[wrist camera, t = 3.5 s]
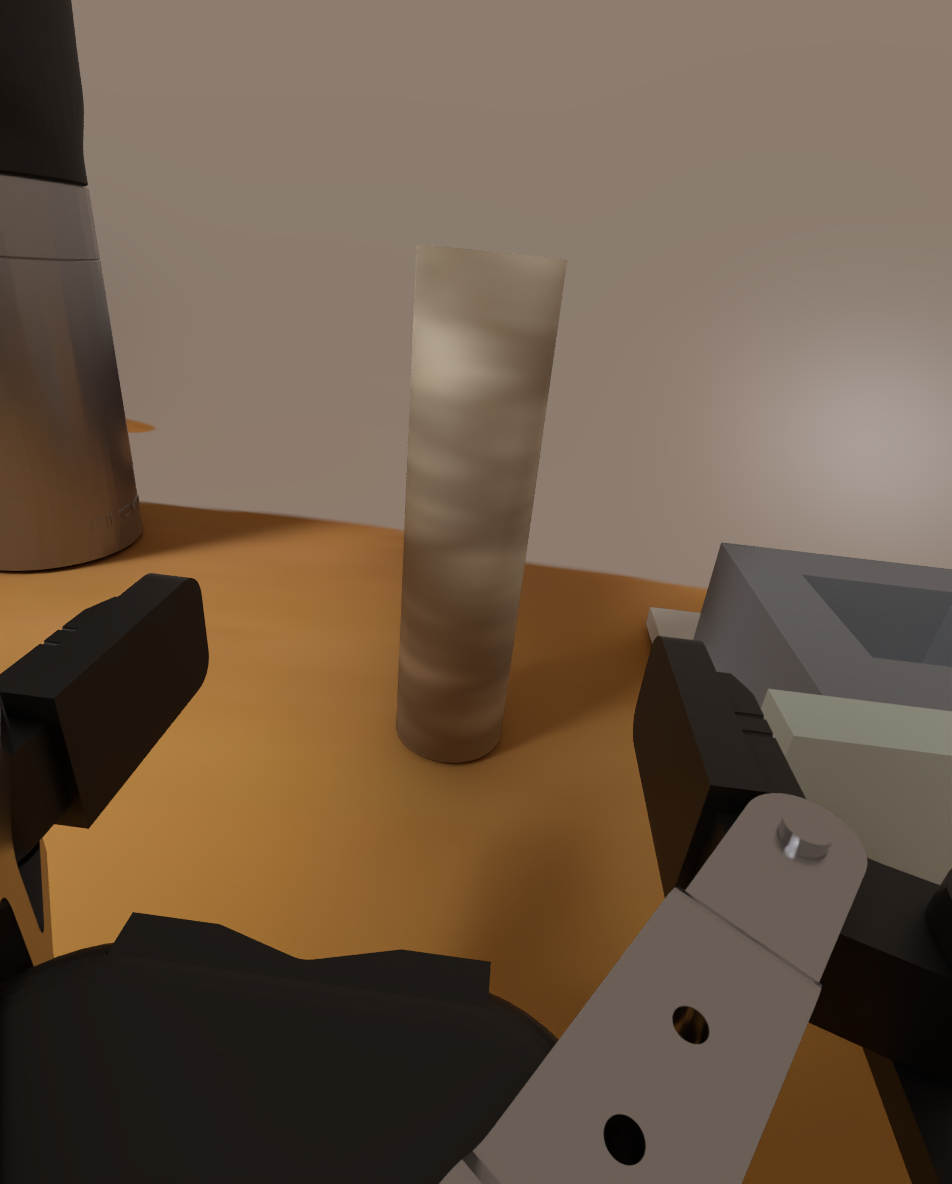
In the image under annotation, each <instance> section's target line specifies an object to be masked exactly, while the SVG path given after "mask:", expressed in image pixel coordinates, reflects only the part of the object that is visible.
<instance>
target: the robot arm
mask: <svg viewBox="0 0 952 1184" xmlns="http://www.w3.org/2000/svg"><path fill="white" fill-rule="evenodd" d="M83 105H84V104H83V93H82V85H81V77H80V70H79V62H78V55H77V48H76V39H75V30H74V21H73V12H72V4H71V0H0V570H10V571H23V570H42V569H50V568H58V567H65V566H70V565H75V564H80V563H85V562H88V561H92V560H95V559H99V558H102V557H105V556H108V555H110V554H113V553H115V552H118V551H120V550H122V549H123V548H125V547H127V546H129V545H131V544H132V543H133V542H134V541H135V540H137V539H138V538H139V536H140V534H141V533H142V521H141V514H140V508H139V497H138V495H137V489H136V483H135V477H134V471H133V462H132V456H131V450H130V444H129V437H128V431H127V425H126V418H125V412H124V406H123V400H122V393H121V387H120V381H119V375H118V368H117V363H116V356H115V350H114V344H113V337H112V331H111V325H110V318H109V313H108V306H107V300H106V294H105V288H104V281H103V275H102V268H101V262H100V260H99V258H100V257H99V251H98V245H97V238H96V233H95V226H94V220H93V214H92V208H91V201H90V195H89V190H88V189H87V188H85V187H83V186H87V185H88V182H87V176H86V171H85V164H84V156H83V127H84V125H83V124H84V106H83ZM208 663H209V651H208V643H207V635H206V627H205V619H204V610H203V602H202V594H201V589H200V586H199V584H198V582H197V581H196V580H195V579H193V578H186V577H178V576H170V575H161V574H153V573H150V574H147V575H145V576H144V577H142V578H141V579H140V580H138V581H137V582H136V583H135V584H133V585H132V586H131V587H130V588H128V589H127V590H126V591H125V592H123V593H122V594H121V595H120V596H118V597H113V598H111V599H108V600H106V601H104V602H101V603H99V604H97V605H94V606H92V607H90V608H87V609H85V610H83V611H82V612H81V613H79V614H78V615H77V616H76V617H74V618H73V619H72V620H70V621H69V622H68V623H66V624H65V625H64V626H63V628H62V630H57V631H56V632H55V633H53V634H52V635H51V636H49V637H48V638H47V639H46V640H44V644H39V645H38V646H36V647H35V648H34V649H33V650H31V651H30V652H29V653H27V654H26V655H25V656H23V657H22V658H21V659H19V660H18V661H17V662H16V663H14V664H13V665H12V666H10V667H9V668H8V669H6V670H5V671H4V672H2V673H1V674H0V1184H742V1182H743V1179H744V1177H745V1174H746V1172H747V1169H748V1167H749V1165H750V1162H751V1160H752V1157H753V1155H754V1152H755V1150H756V1148H757V1145H758V1143H759V1140H760V1138H761V1136H762V1133H763V1131H764V1128H765V1126H766V1123H767V1121H768V1119H769V1116H770V1114H771V1111H772V1109H773V1106H774V1104H775V1102H776V1099H777V1097H778V1094H779V1092H780V1089H781V1087H782V1085H783V1082H784V1080H785V1077H786V1075H787V1073H788V1070H789V1068H790V1065H791V1063H792V1060H793V1058H794V1056H795V1053H796V1051H797V1048H798V1046H799V1043H800V1041H801V1039H802V1036H803V1034H804V1031H805V1029H806V1027H807V1024H808V1022H809V1023H811V1024H813V1025H816V1026H818V1027H820V1028H822V1029H824V1030H826V1031H829V1032H831V1033H833V1034H835V1035H837V1036H840V1037H842V1038H844V1039H846V1040H848V1041H851V1042H853V1043H855V1044H857V1045H859V1046H861V1047H863V1050H864V1053H865V1055H866V1058H867V1061H868V1064H869V1066H870V1069H871V1072H872V1075H873V1077H874V1080H875V1083H876V1086H877V1089H878V1091H879V1094H880V1097H881V1100H882V1102H883V1105H884V1108H885V1111H886V1113H887V1116H888V1119H889V1122H890V1124H891V1127H892V1130H893V1133H894V1135H895V1138H896V1141H897V1144H898V1147H899V1149H900V1152H901V1155H902V1158H903V1160H904V1163H905V1166H906V1169H907V1171H908V1174H909V1177H910V1180H911V1182H912V1184H952V868H951V870H950V871H949V872H948V874H947V875H946V877H945V878H944V880H943V881H942V883H941V885H938V884H936V883H933V882H930V881H927V880H925V879H922V878H919V877H917V876H914V875H911V874H908V873H906V872H903V871H900V870H897V869H895V868H892V867H889V866H887V865H884V864H881V863H879V862H877V861H874V860H872V859H870V858H868V857H867V855H866V852H865V849H864V847H863V845H862V843H861V841H860V840H859V838H858V837H857V835H856V834H855V833H854V832H853V831H852V829H851V828H850V827H849V826H848V825H847V824H846V823H844V822H843V821H842V820H841V819H840V818H839V817H837V816H836V815H834V814H833V813H832V812H830V811H829V810H827V809H825V808H824V807H822V806H820V805H818V804H816V803H814V802H812V801H809V800H806V798H805V796H804V794H803V792H802V790H801V788H800V786H799V784H798V782H797V780H796V778H795V776H794V774H793V772H792V770H791V768H790V766H789V764H788V762H787V760H786V758H785V756H784V754H783V752H782V750H781V748H780V746H779V744H778V742H777V740H776V738H773V732H772V730H771V728H770V726H769V724H768V722H767V720H765V719H764V714H763V712H762V710H761V708H760V706H759V704H758V702H757V700H756V698H755V696H754V694H753V693H752V692H751V691H750V690H749V689H748V688H746V687H745V686H744V685H743V684H742V683H741V682H740V681H739V680H738V679H737V678H736V677H735V676H733V675H732V674H731V673H723V672H716V669H715V667H714V665H713V662H712V660H711V658H710V656H709V653H708V651H707V649H706V647H705V645H704V643H703V642H702V641H698V640H689V639H681V638H673V637H665V636H657V637H656V638H655V639H654V641H653V644H652V647H651V650H650V654H649V658H648V662H647V666H646V670H645V674H644V677H643V681H642V685H641V689H640V693H639V697H638V701H637V705H636V709H635V714H634V722H633V742H634V748H635V753H636V758H637V763H638V768H639V773H640V778H641V782H642V787H643V792H644V797H645V802H646V807H647V812H648V817H649V822H650V827H651V832H652V837H653V842H654V847H655V852H656V857H657V862H658V866H659V871H660V876H661V881H662V886H663V891H664V896H665V899H664V900H663V902H662V903H661V904H660V906H659V907H658V908H657V910H656V911H655V912H654V914H653V915H652V916H651V918H650V919H649V920H648V922H647V923H646V924H645V926H644V927H643V928H642V930H641V931H640V932H639V934H638V935H637V936H636V938H635V939H634V940H633V942H632V943H631V944H630V946H629V947H628V948H627V950H626V951H625V952H624V954H623V955H622V956H621V958H620V959H619V960H618V962H617V963H616V964H615V966H614V967H613V968H612V970H611V971H610V972H609V974H608V975H607V976H606V978H605V979H604V980H603V982H602V983H601V984H600V986H599V987H598V988H597V990H596V991H595V992H594V994H593V995H592V996H591V998H590V999H589V1000H588V1002H587V1003H586V1004H585V1006H584V1007H583V1008H582V1010H581V1011H580V1012H579V1014H578V1015H577V1016H576V1018H575V1019H574V1020H573V1022H572V1023H571V1024H570V1026H569V1027H568V1028H567V1030H566V1031H565V1032H564V1034H563V1035H562V1036H561V1038H560V1039H559V1040H558V1039H557V1038H556V1037H555V1036H554V1035H553V1034H552V1033H551V1032H550V1031H549V1030H548V1029H547V1028H546V1027H545V1026H543V1025H542V1024H541V1023H539V1022H538V1021H537V1020H535V1019H534V1018H533V1017H532V1016H530V1015H529V1014H528V1013H526V1012H525V1011H523V1010H521V1009H520V1008H518V1007H516V1006H515V1005H513V1004H511V1003H510V1002H508V1001H506V1000H504V999H502V998H500V997H498V996H495V995H493V994H491V993H489V981H490V966H491V962H487V961H480V960H473V959H466V958H459V957H451V956H444V955H437V954H430V953H423V952H415V951H408V950H394V951H385V952H376V953H367V954H358V955H349V956H341V957H332V958H323V959H314V960H303V959H298V958H295V957H292V956H290V955H288V954H286V953H283V952H281V951H279V950H277V949H274V948H272V947H270V946H267V945H265V944H263V943H261V942H258V941H256V940H254V939H252V938H249V937H247V936H245V935H243V934H240V933H238V932H236V931H234V930H231V929H229V928H227V927H225V926H222V925H220V924H214V923H207V922H199V921H192V920H185V919H178V918H171V917H163V916H156V915H149V914H142V913H135V912H133V913H132V915H131V916H130V918H129V919H128V921H127V923H126V924H125V926H124V927H123V929H122V931H121V932H120V934H119V935H118V937H117V939H116V940H115V942H114V943H108V944H103V945H98V946H93V947H89V948H84V949H80V950H77V951H74V952H71V953H68V954H65V955H62V956H58V957H56V958H54V955H53V944H52V928H51V912H50V897H49V881H48V865H47V852H46V847H45V844H44V841H43V838H42V837H43V836H44V835H45V834H46V833H47V832H48V830H49V829H50V828H51V827H52V826H53V825H54V824H58V825H65V826H72V827H80V828H87V829H89V828H90V826H91V825H92V824H93V823H94V821H95V820H96V819H97V818H98V816H99V815H100V814H101V812H102V811H103V810H104V809H105V807H106V806H107V805H108V804H109V802H110V801H111V800H112V799H113V797H114V796H115V795H116V794H117V792H118V791H119V790H120V789H121V787H122V786H123V785H124V783H125V782H126V781H127V780H128V778H129V777H130V776H131V775H132V773H133V772H134V771H135V770H136V768H137V767H138V766H139V765H140V763H141V762H142V761H143V759H144V758H145V757H146V756H147V754H148V753H149V752H150V751H151V749H152V748H153V747H154V746H155V744H156V743H157V742H158V741H159V739H160V738H161V737H162V735H163V734H164V733H165V732H166V730H167V729H168V728H169V727H170V725H171V724H172V723H173V722H174V720H175V719H176V718H177V717H178V715H179V714H180V713H181V711H182V710H183V709H184V708H185V706H186V705H187V704H188V703H189V701H190V700H191V699H192V698H193V696H194V695H195V694H196V693H197V691H198V690H199V689H200V687H201V686H202V684H203V682H204V679H205V676H206V673H207V669H208Z"/></svg>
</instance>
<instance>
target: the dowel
mask: <svg viewBox="0 0 952 1184" xmlns="http://www.w3.org/2000/svg"><path fill="white" fill-rule="evenodd" d="M566 264H567V260H563V259H556V258H548V257H539V256H530V255H521V254H511V253H502V252H492V251H482V250H472V249H463V248H452V247H442V246H431V245H417V249H416V273H415V296H414V319H413V342H412V343H413V344H412V367H411V389H410V413H409V436H408V437H409V438H408V461H407V462H408V463H407V483H406V508H405V530H404V553H403V577H402V600H401V624H400V647H399V671H398V694H397V718H396V730H397V734H398V736H399V738H400V740H401V741H402V743H403V744H404V745H405V746H406V747H407V748H408V749H410V750H411V751H412V752H414V753H415V754H417V755H419V756H421V757H424V758H427V759H430V760H433V761H438V762H445V763H459V762H467V761H471V760H475V759H478V758H480V757H482V756H484V755H486V754H487V753H489V752H490V751H491V750H493V748H494V747H495V746H496V745H497V743H498V742H499V739H500V736H501V730H502V723H503V716H504V709H505V702H506V694H507V687H508V680H509V673H510V666H511V658H512V651H513V644H514V637H515V630H516V623H517V615H518V608H519V601H520V594H521V587H522V580H523V572H524V565H525V557H526V551H527V543H528V537H529V529H530V522H531V515H532V507H533V501H534V494H535V486H536V479H537V471H538V465H539V458H540V450H541V443H542V435H543V428H544V421H545V414H546V407H547V400H548V393H549V386H550V379H551V371H552V364H553V357H554V350H555V343H556V336H557V328H558V321H559V313H560V307H561V300H562V292H563V285H564V278H565V271H566Z"/></svg>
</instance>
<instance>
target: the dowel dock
mask: <svg viewBox="0 0 952 1184" xmlns="http://www.w3.org/2000/svg"><path fill="white" fill-rule="evenodd" d="M646 625H647V629H648V632H649V635H650V639H651V642H652V644H653V641H654V639H655V638H656V637H657V636H665V637H673V638H681V639H689V640H698V641H702V642H703V643H704V645H705V647H706V649H707V651H708V653H709V656H710V658H711V660H712V662H713V665H714V667H715V669H716V672H723V673H731V674H732V675H733V676H735V677H736V678H737V679H738V680H739V681H740V682H741V683H742V684H743V685H744V686H745V687H746V688H748V689H749V690H750V691H751V692H752V693H753V694H754V696H755V698H756V700H757V702H758V704H759V706H760V708H761V710H762V712H763V714H764V719H765V720H767V722H768V724H769V726H770V728H771V730H772V732H773V738H776V740H777V742H778V744H779V746H780V748H781V750H782V752H783V754H784V756H785V758H786V760H787V762H788V764H789V766H790V768H791V770H792V772H793V774H794V776H795V778H796V780H797V782H798V784H799V786H800V788H801V790H802V792H803V794H804V796H805V798H806V800H809V801H812V802H814V803H816V804H818V805H820V806H822V807H824V808H825V809H827V810H829V811H830V812H832V813H833V814H834V815H836V816H837V817H839V818H840V819H841V820H842V821H843V822H844V823H846V824H847V825H848V826H849V827H850V828H851V829H852V831H853V832H854V833H855V834H856V835H857V837H858V838H859V840H860V841H861V843H862V845H863V847H864V849H865V852H866V855H867V857H868V858H870V859H872V860H874V861H877V862H879V863H881V864H884V865H887V866H889V867H892V868H895V869H897V870H900V871H903V872H906V873H908V874H911V875H914V876H917V877H919V878H922V879H925V880H927V881H930V882H933V883H936V884H938V885H941V883H942V881H943V880H944V878H945V877H946V875H947V874H948V872H949V871H950V870H951V868H952V569H944V568H934V567H927V566H917V565H909V564H901V563H892V562H884V561H875V560H866V559H858V558H849V557H841V556H832V555H823V554H815V553H806V552H798V551H789V550H781V549H772V548H763V547H755V546H746V545H738V544H729V543H721V546H720V549H719V552H718V556H717V559H716V563H715V566H714V570H713V573H712V577H711V580H710V584H709V587H708V590H707V594H706V597H705V601H704V604H703V607H702V611H701V613H696V612H688V611H680V610H671V609H663V608H655V607H650V610H649V614H648V618H647V622H646Z"/></svg>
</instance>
